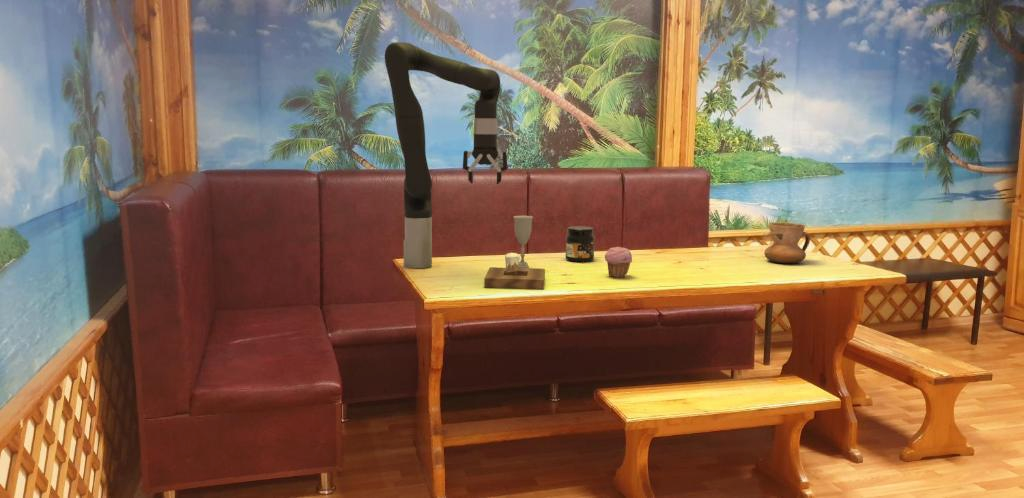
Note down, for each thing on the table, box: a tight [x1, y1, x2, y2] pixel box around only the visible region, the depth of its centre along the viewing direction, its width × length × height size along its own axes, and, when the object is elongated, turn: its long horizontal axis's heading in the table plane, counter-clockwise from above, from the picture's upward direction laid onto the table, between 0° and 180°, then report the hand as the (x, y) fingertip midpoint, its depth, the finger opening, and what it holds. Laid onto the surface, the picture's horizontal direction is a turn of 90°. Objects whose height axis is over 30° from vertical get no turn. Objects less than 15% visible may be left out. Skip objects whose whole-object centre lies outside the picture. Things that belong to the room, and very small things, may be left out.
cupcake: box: [604, 246, 633, 279], centre depth 262 cm, size 9×9×10 cm
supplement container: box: [565, 225, 596, 263], centre depth 291 cm, size 10×10×12 cm
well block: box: [483, 266, 546, 290], centre depth 251 cm, size 18×18×3 cm
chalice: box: [513, 215, 534, 268], centre depth 272 cm, size 7×7×18 cm
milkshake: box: [504, 252, 521, 276], centre depth 250 cm, size 4×5×10 cm
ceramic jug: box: [763, 221, 811, 265], centre depth 293 cm, size 18×14×14 cm
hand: (484, 183), depth 258 cm, fingers open, 8 cm apart
